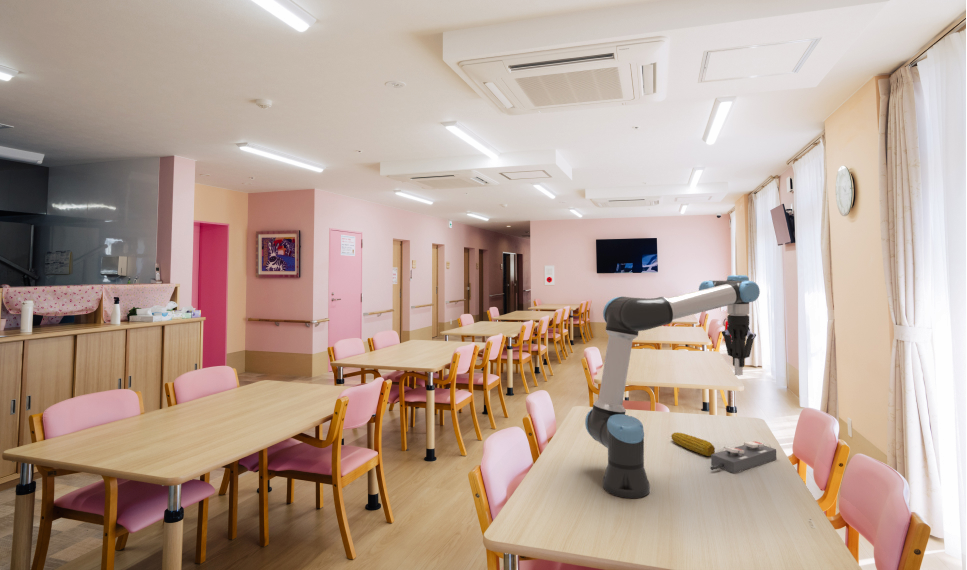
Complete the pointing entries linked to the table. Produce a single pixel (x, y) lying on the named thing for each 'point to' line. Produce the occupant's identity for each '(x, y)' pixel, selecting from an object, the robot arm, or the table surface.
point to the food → (694, 443)
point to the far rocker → (753, 444)
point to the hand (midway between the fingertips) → (738, 374)
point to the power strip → (742, 458)
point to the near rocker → (734, 450)
